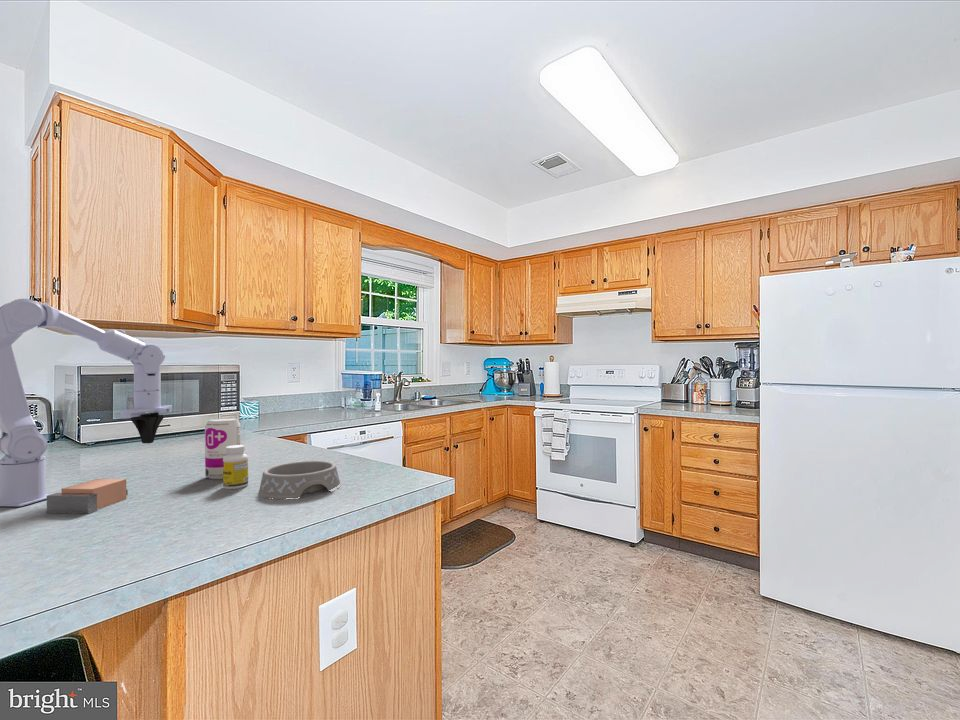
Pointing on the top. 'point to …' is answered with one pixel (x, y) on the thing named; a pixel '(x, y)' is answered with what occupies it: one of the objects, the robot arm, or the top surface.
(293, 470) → the dog bowl
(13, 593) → the top surface
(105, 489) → the block
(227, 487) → the supplement bottle
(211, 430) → the supplement can
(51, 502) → the rail
